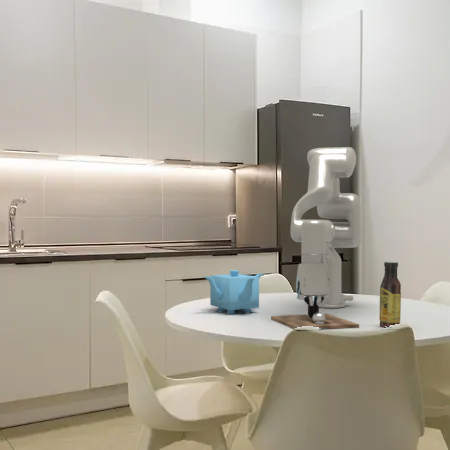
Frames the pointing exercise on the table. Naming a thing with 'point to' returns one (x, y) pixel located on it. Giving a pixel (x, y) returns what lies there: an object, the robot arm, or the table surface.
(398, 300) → the sauce bottle
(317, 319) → the steel ball
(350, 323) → the walnut board
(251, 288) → the teakettle
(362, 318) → the table surface
